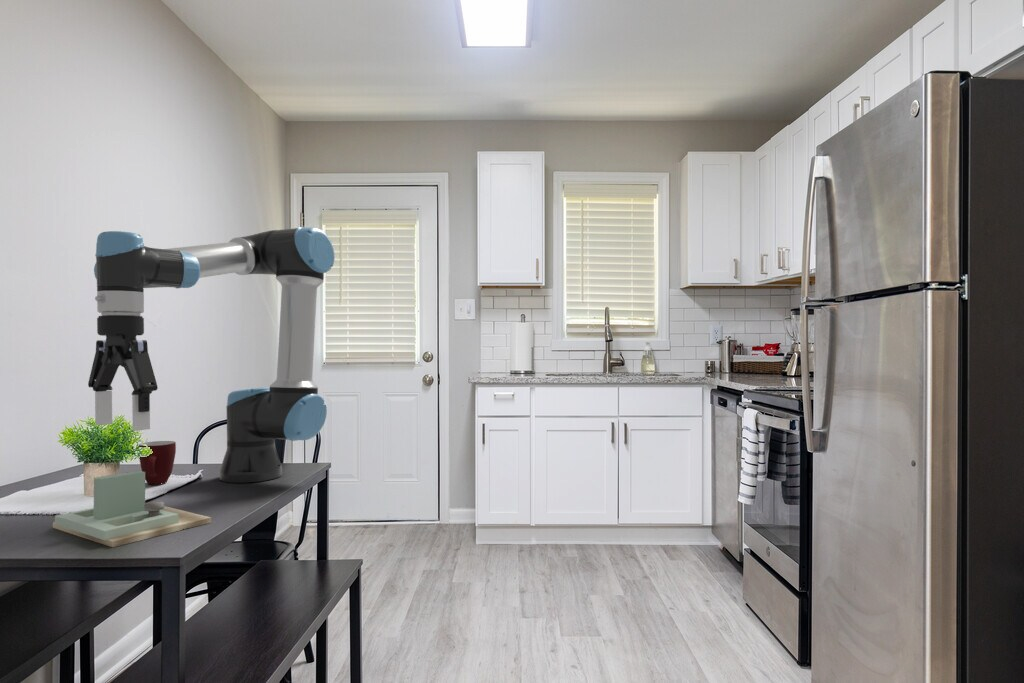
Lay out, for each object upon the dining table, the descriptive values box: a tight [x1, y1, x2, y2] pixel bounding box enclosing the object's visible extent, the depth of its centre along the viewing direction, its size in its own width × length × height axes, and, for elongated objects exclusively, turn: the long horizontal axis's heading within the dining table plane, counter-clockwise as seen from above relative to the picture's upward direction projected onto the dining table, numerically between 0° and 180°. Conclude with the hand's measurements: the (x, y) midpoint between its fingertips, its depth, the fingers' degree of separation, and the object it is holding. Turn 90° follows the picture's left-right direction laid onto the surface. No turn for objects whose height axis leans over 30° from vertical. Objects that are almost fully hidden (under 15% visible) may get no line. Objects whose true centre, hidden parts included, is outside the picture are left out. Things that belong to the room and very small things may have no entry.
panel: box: [54, 470, 179, 540], centre depth 119 cm, size 13×18×9 cm
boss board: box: [52, 501, 212, 548], centre depth 122 cm, size 18×22×5 cm
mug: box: [138, 440, 177, 485], centre depth 157 cm, size 10×8×10 cm
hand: (122, 427), depth 120 cm, fingers open, 13 cm apart
